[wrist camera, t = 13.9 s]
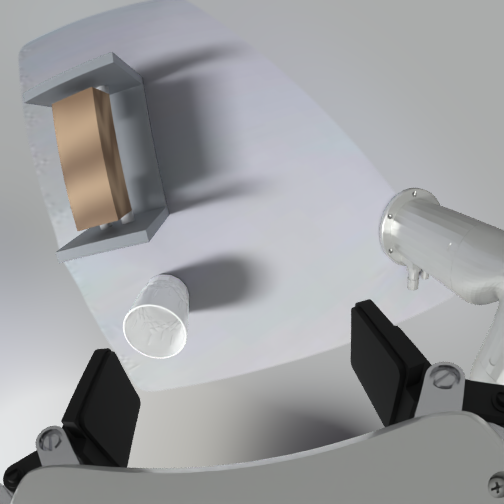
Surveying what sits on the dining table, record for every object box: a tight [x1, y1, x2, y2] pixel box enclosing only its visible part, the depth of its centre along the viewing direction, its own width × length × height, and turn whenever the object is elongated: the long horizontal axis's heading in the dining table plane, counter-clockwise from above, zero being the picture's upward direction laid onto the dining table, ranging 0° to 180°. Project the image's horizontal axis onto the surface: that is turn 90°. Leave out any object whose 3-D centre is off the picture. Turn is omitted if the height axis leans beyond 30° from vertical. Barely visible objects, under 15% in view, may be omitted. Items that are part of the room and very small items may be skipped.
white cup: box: [123, 275, 189, 359], centre depth 38 cm, size 8×8×10 cm
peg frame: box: [23, 52, 169, 263], centre depth 30 cm, size 19×11×12 cm, turn 10°
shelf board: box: [52, 87, 132, 231], centre depth 27 cm, size 14×5×5 cm, turn 10°
